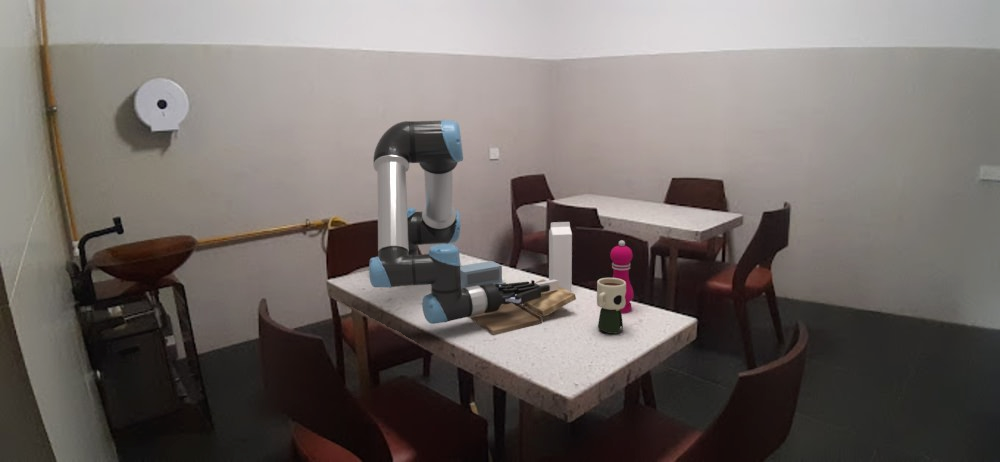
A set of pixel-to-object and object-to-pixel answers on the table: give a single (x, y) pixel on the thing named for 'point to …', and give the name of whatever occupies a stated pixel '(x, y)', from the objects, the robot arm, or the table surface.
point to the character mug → (611, 303)
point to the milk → (560, 254)
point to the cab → (481, 274)
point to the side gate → (550, 301)
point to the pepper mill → (623, 270)
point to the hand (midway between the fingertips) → (556, 284)
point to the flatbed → (507, 318)
